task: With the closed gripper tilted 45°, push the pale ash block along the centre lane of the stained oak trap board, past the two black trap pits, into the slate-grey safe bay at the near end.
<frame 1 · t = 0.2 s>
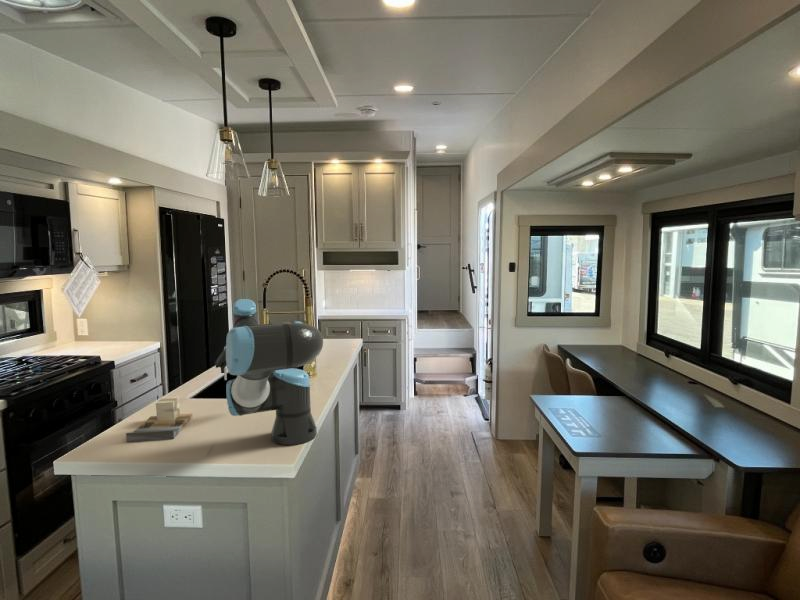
hand: (244, 375, 173), 16 cm above the countertop, tool tilted 35°, fingers open, 13 cm apart
trap board: (162, 428, 162), on the countertop
ash block: (168, 417, 168), point 1 cm above the countertop, touching trap board
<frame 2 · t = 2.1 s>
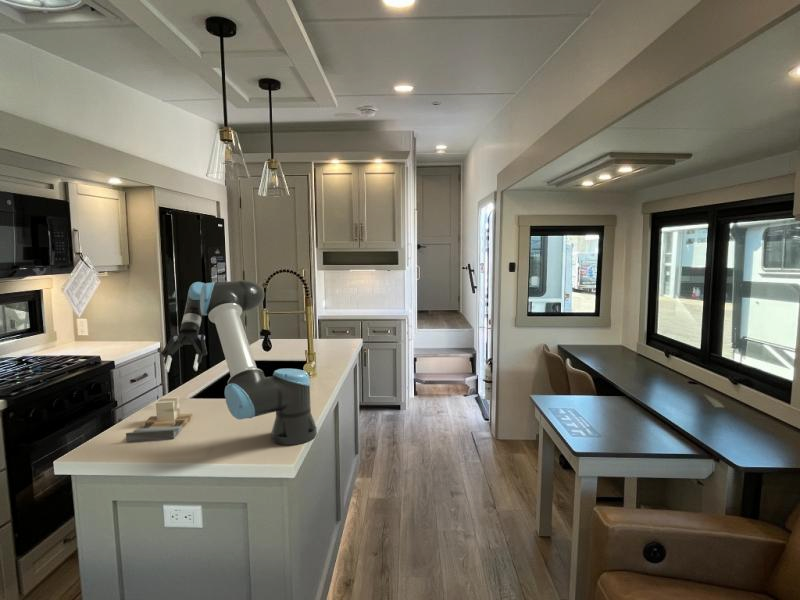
hand: (180, 369, 183), 16 cm above the countertop, tool tilted 45°, fingers open, 10 cm apart
nothing on the countertop moved.
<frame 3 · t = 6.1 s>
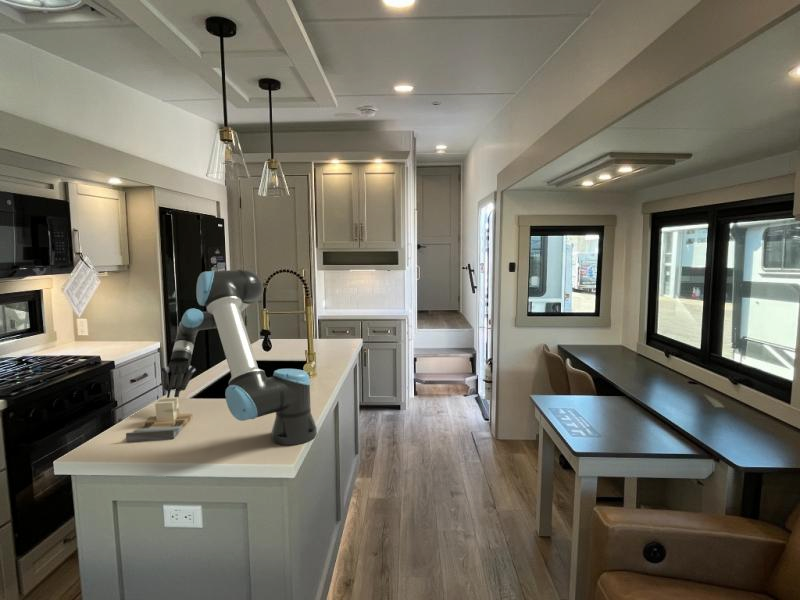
hand: (170, 406, 172), 5 cm above the countertop, tool tilted 45°, fingers closed
ash block: (168, 418, 168), point 2 cm above the countertop, touching gripper, trap board
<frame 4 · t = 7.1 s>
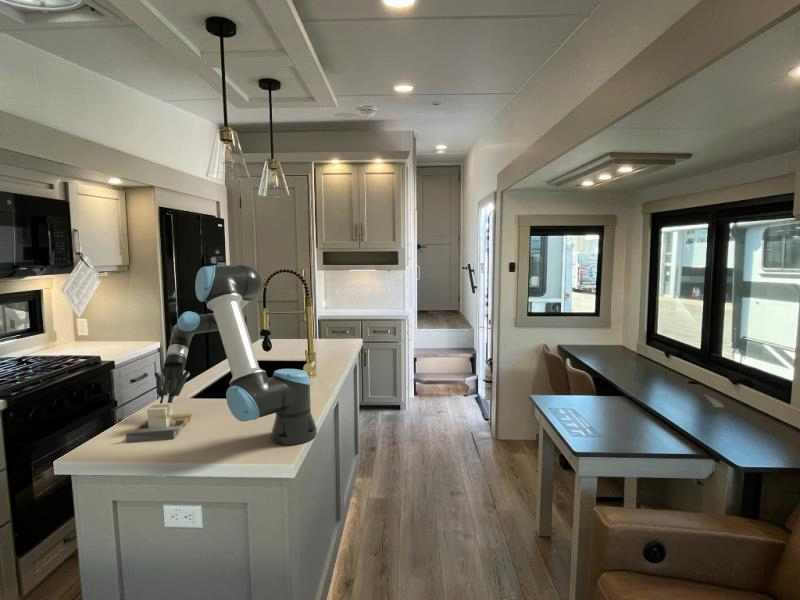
hand: (163, 412, 165), 5 cm above the countertop, tool tilted 45°, fingers closed
ash block: (160, 424, 161), point 2 cm above the countertop
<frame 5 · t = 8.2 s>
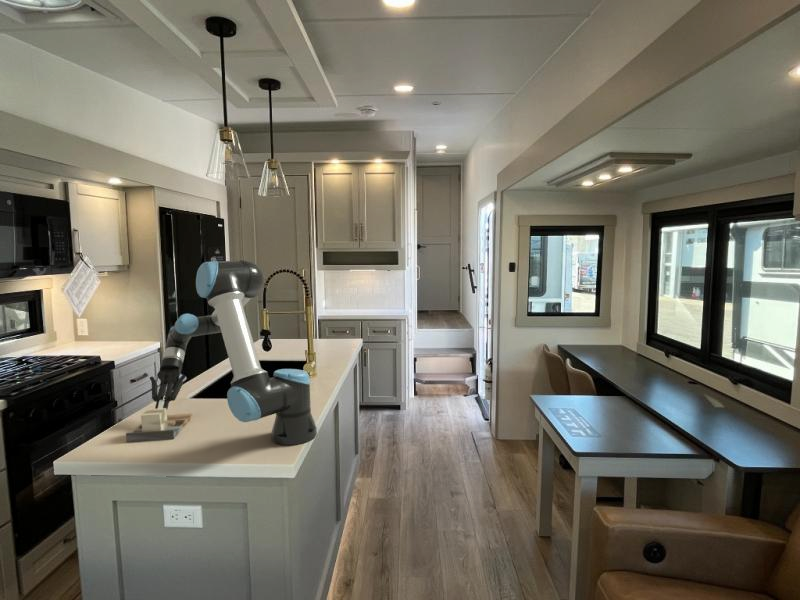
hand: (159, 418, 160), 5 cm above the countertop, tool tilted 45°, fingers closed
ash block: (155, 430, 156), point 1 cm above the countertop, touching trap board
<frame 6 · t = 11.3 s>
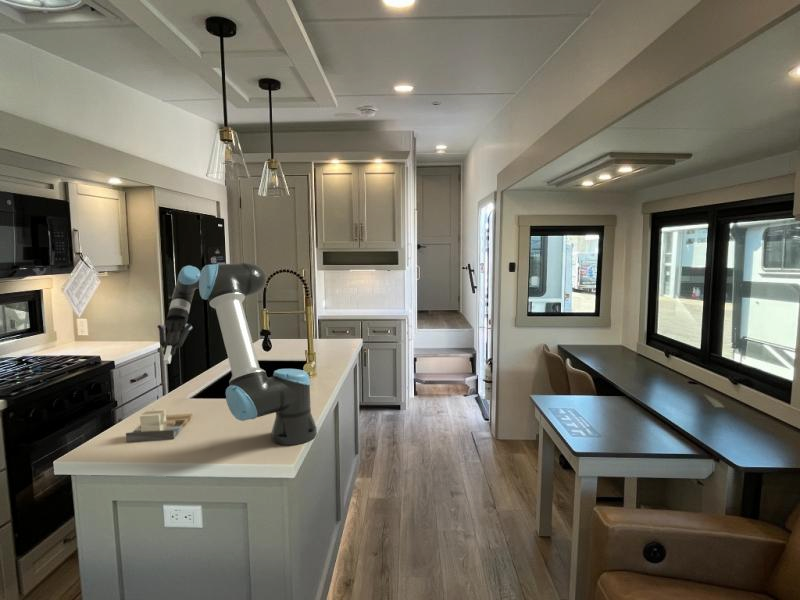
hand: (166, 361, 169), 23 cm above the countertop, tool tilted 45°, fingers closed
nothing on the countertop moved.
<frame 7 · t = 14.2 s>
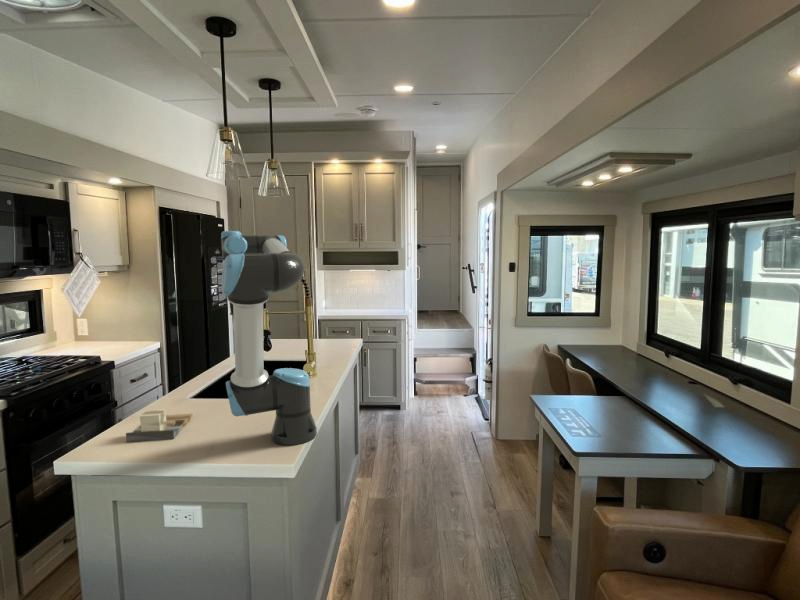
hand: (237, 330, 176), 32 cm above the countertop, tool pointing down, fingers closed
nothing on the countertop moved.
at the end: ash block 0.2 cm from the target spot on the trap board, point 1.5 cm above the trap board's base; ash block tilted 0° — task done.
